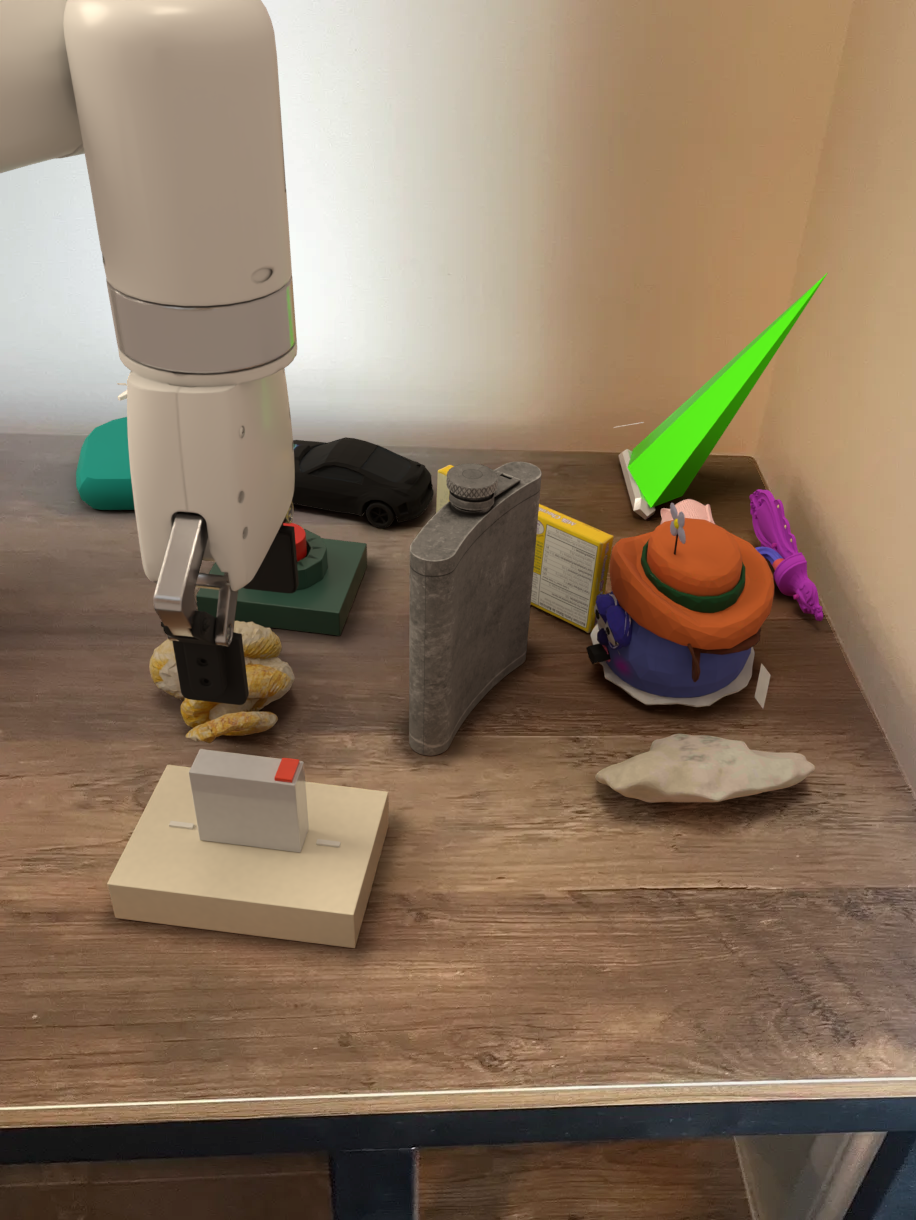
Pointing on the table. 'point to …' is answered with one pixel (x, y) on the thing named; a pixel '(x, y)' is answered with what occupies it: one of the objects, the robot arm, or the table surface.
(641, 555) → the toy
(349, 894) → the block
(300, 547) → the button
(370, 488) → the toy car
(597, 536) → the candy box
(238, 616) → the button box
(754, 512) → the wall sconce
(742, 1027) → the table surface
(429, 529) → the flask
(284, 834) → the tap handle
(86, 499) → the spray bottle
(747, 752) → the stone tool
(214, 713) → the cream yellow lumpy piece
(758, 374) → the paper cone
